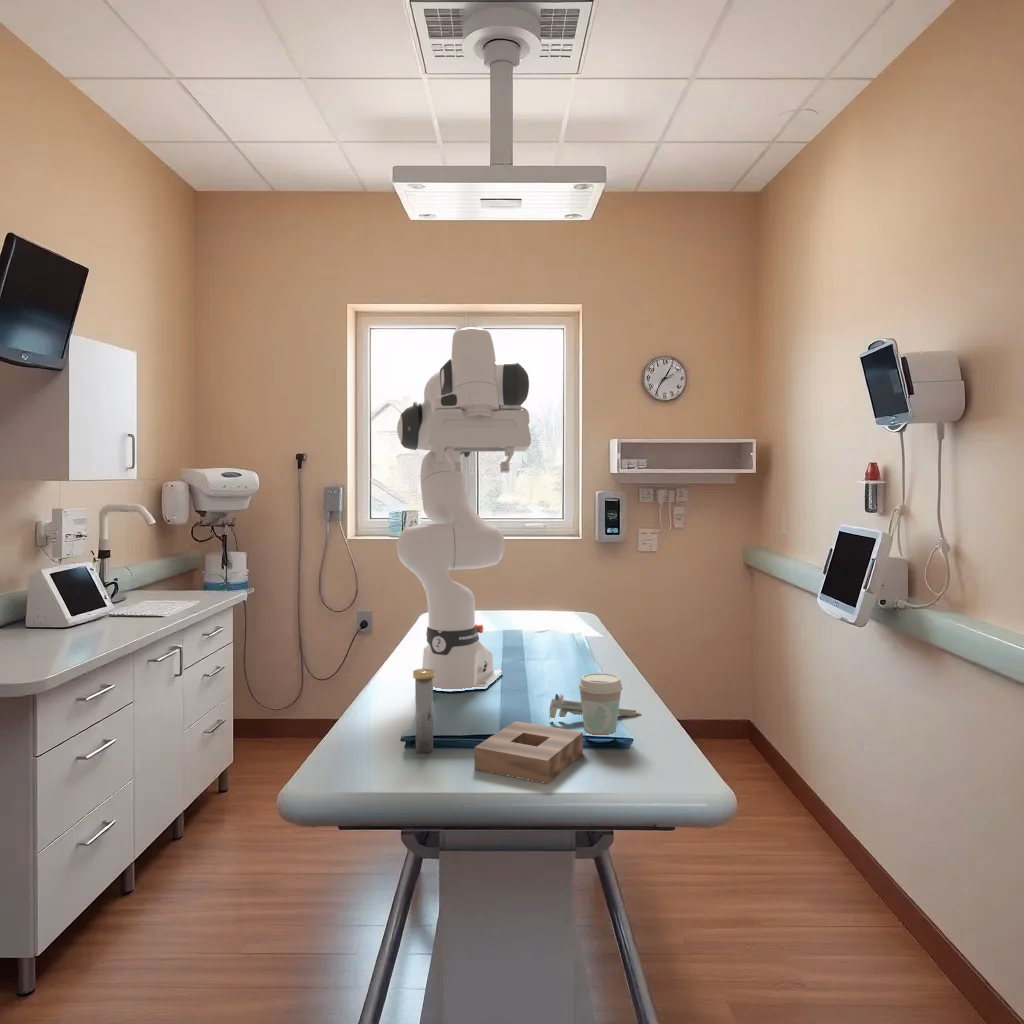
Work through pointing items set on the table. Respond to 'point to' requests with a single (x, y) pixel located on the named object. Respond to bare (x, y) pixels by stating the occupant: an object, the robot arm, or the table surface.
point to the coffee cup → (600, 702)
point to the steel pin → (424, 709)
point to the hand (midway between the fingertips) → (481, 472)
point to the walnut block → (529, 751)
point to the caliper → (579, 708)
